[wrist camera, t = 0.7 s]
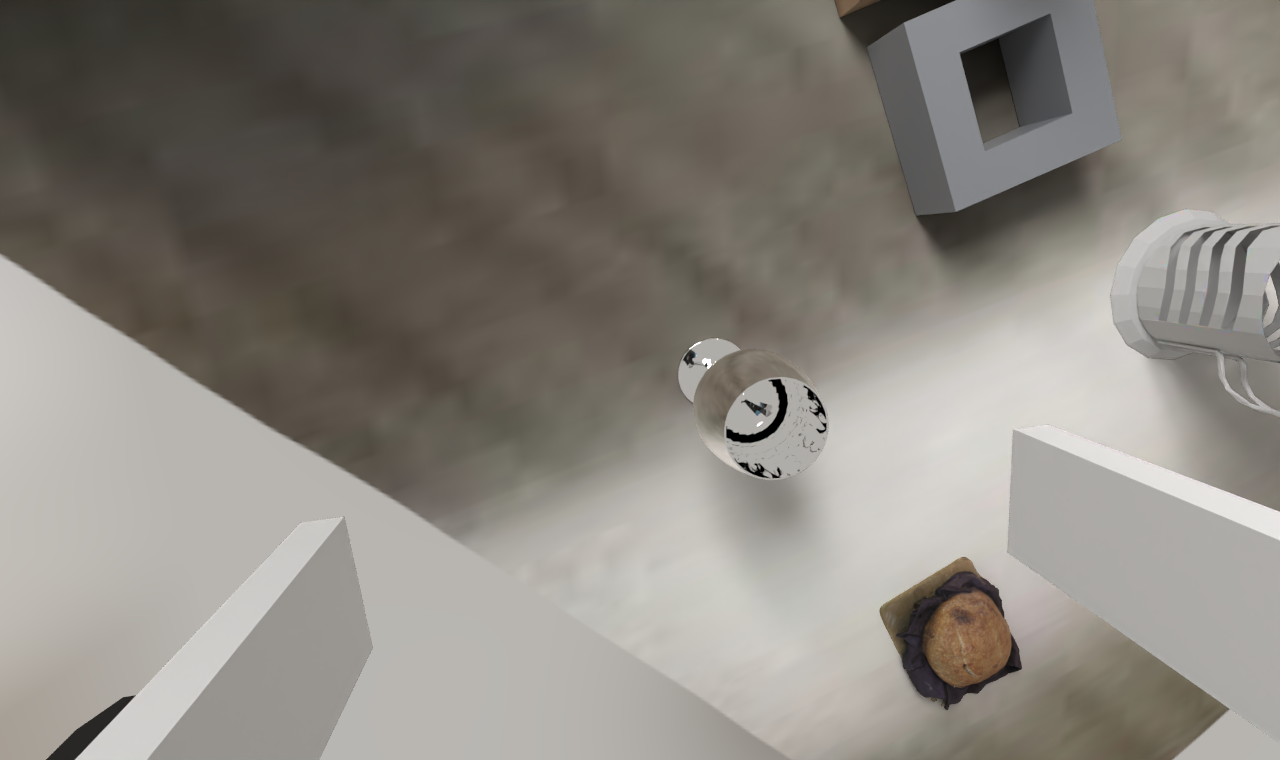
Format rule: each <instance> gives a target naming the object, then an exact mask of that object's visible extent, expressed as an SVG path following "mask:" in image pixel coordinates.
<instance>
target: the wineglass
mask: <svg viewBox="0 0 1280 760" xmlns="http://www.w3.org/2000/svg"><path fill="white" fill-rule="evenodd" d="M678 381H679V385H680V388H681V390H682V392H683V394H684V395H685V396H686V398H687V399H688V400H690V401H691V402H692V403H693V412H694V419H695V423H696V427H697V430H698V432H699V434H700V436H701V438H702V440H703V441H704V443H705V444H706V446H707V447H708V448H709V449H710V451H711V452H712V453H713V454H714V455H716V456H717V457H718V458H719V459H720V460H721V461H723V462H724V463H725V464H727V465H729V466H730V467H732V468H734V469H735V470H737V471H740V472H742V473H744V474H746V475H749V476H752V477H755V478H759V479H765V480H779V479H785V478H788V477H791V476H794V475H796V474H798V473H800V472H801V471H803V470H805V469H806V468H807V467H808V466H809V465H810V464H811V463H813V462H814V461H815V459H816V458H817V456H818V455H819V454H820V452H821V451H822V449H823V447H824V445H825V442H826V439H827V434H828V425H829V423H828V414H827V411H826V407H825V405H824V402H823V400H822V398H821V397H820V395H819V393H818V391H817V389H816V387H815V386H814V384H813V383H812V381H811V380H810V379H809V377H808V376H807V375H806V374H805V373H804V372H803V371H802V370H801V369H800V368H799V367H798V366H797V365H796V364H794V363H793V362H791V361H790V360H788V359H787V358H785V357H783V356H781V355H779V354H776V353H774V352H770V351H766V350H759V349H747V350H741V349H740V348H739V347H738V346H736V345H735V344H734V343H732V342H730V341H729V340H725V339H722V338H708V339H704V340H701V341H699V342H697V343H695V344H694V345H692V346H691V347H690V348H689V349H688V350H687V351H686V352H685V354H684V355H683V357H682V359H681V361H680V364H679V367H678Z"/></svg>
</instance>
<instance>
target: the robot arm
mask: <svg viewBox="0 0 1280 760" xmlns="http://www.w3.org/2000/svg"><path fill="white" fill-rule="evenodd" d="M1007 553H1009V554H1010V555H1012V556H1013V557H1015V558H1016V559H1017V560H1019V561H1020V562H1022V563H1023V564H1025V565H1026V566H1027V567H1029V568H1030V569H1032V570H1033V571H1035V572H1036V573H1037V574H1039V575H1040V576H1042V577H1043V578H1044V579H1046V580H1047V581H1049V582H1050V583H1052V584H1053V585H1054V586H1056V587H1057V588H1059V589H1060V590H1062V591H1063V592H1064V593H1066V594H1067V595H1069V596H1070V597H1072V598H1073V599H1074V600H1076V601H1077V602H1079V603H1080V604H1081V605H1083V606H1084V607H1086V608H1087V609H1089V610H1090V611H1091V612H1093V613H1094V614H1096V615H1097V616H1099V617H1100V618H1101V619H1103V620H1104V621H1106V622H1107V623H1109V624H1110V625H1111V626H1113V627H1114V628H1116V629H1117V630H1118V631H1120V632H1121V633H1123V634H1124V635H1126V636H1127V637H1128V638H1130V639H1131V640H1133V641H1134V642H1136V643H1137V644H1138V645H1140V646H1141V647H1143V648H1144V649H1146V650H1147V651H1148V652H1150V653H1151V654H1153V655H1154V656H1155V657H1157V658H1158V659H1160V660H1161V661H1163V662H1164V663H1165V664H1167V665H1168V666H1170V667H1171V668H1173V669H1174V670H1175V671H1177V672H1178V673H1180V674H1181V675H1183V676H1184V677H1185V678H1187V679H1188V680H1190V681H1191V682H1192V683H1194V684H1195V685H1197V686H1198V687H1200V688H1201V689H1202V690H1204V691H1205V692H1207V693H1208V694H1210V695H1211V696H1212V697H1214V698H1215V699H1217V700H1218V701H1220V702H1221V703H1222V704H1224V705H1225V706H1227V707H1228V708H1229V709H1231V710H1232V711H1234V712H1235V713H1237V714H1238V715H1240V716H1241V717H1242V718H1244V719H1245V720H1247V721H1248V722H1249V723H1251V724H1252V725H1254V726H1255V727H1257V728H1258V729H1259V730H1261V731H1262V732H1264V733H1265V734H1266V735H1268V736H1269V737H1271V738H1272V739H1274V740H1275V741H1276V742H1278V743H1279V744H1280V512H1279V511H1276V510H1274V509H1271V508H1268V507H1266V506H1263V505H1260V504H1258V503H1255V502H1252V501H1250V500H1247V499H1244V498H1242V497H1239V496H1236V495H1234V494H1231V493H1229V492H1226V491H1223V490H1221V489H1218V488H1215V487H1213V486H1210V485H1207V484H1205V483H1202V482H1199V481H1197V480H1194V479H1191V478H1189V477H1186V476H1183V475H1181V474H1178V473H1176V472H1173V471H1170V470H1168V469H1165V468H1162V467H1160V466H1157V465H1154V464H1152V463H1149V462H1146V461H1144V460H1141V459H1138V458H1136V457H1133V456H1130V455H1128V454H1125V453H1122V452H1120V451H1117V450H1115V449H1112V448H1109V447H1107V446H1104V445H1101V444H1099V443H1096V442H1093V441H1091V440H1088V439H1085V438H1083V437H1080V436H1077V435H1075V434H1072V433H1069V432H1067V431H1064V430H1062V429H1059V428H1056V427H1054V426H1051V425H1040V426H1032V427H1025V428H1017V429H1013V440H1012V462H1011V484H1010V505H1009V527H1008V549H1007ZM372 648H373V646H372V642H371V638H370V633H369V628H368V624H367V619H366V614H365V610H364V605H363V600H362V596H361V591H360V587H359V582H358V577H357V573H356V568H355V564H354V559H353V555H352V549H351V545H350V540H349V536H348V531H347V526H346V522H345V517H337V518H329V519H322V520H315V521H307V522H301V523H300V524H299V525H298V526H297V527H296V528H295V529H294V530H293V531H292V532H291V533H290V534H289V535H288V536H287V537H286V538H285V540H284V541H283V542H282V543H281V544H280V545H279V546H278V547H277V548H276V549H275V550H274V551H273V552H272V553H271V554H270V555H269V556H268V557H267V558H266V560H265V561H264V562H263V563H262V564H261V565H260V566H259V567H258V568H257V569H256V570H255V571H254V572H253V573H252V574H251V575H250V576H249V577H248V578H247V579H246V581H245V582H244V583H243V584H242V585H241V586H240V587H239V588H238V589H237V590H236V591H235V592H234V593H233V594H232V595H231V596H230V597H229V598H228V599H227V601H226V602H225V603H224V604H223V605H222V606H221V607H220V608H219V609H218V610H217V611H216V612H215V613H214V614H213V615H212V616H211V617H210V618H209V620H208V621H207V622H206V623H205V624H204V625H203V626H202V627H201V628H200V629H199V630H198V631H197V632H196V633H195V634H194V635H193V636H192V637H191V638H190V639H189V640H188V641H187V643H186V644H185V645H184V646H183V647H182V648H181V649H180V650H179V651H178V652H177V653H176V654H175V655H174V656H173V657H172V658H171V659H170V660H169V661H168V663H167V664H166V665H165V666H164V667H163V668H162V669H161V670H160V671H159V672H158V673H157V674H156V675H155V676H154V677H153V678H152V679H151V680H150V681H149V682H148V684H147V685H146V686H145V687H144V688H143V689H142V690H141V691H140V692H139V693H138V694H137V695H135V696H130V697H123V698H122V699H120V700H119V701H117V702H116V703H114V704H113V705H112V706H110V707H109V708H107V709H106V710H104V711H103V712H101V713H100V714H98V715H97V716H96V717H94V718H93V719H91V720H90V721H88V722H87V723H85V724H84V725H83V726H81V727H80V728H78V729H77V730H76V731H75V732H74V733H73V734H72V735H71V736H70V737H69V738H68V739H67V740H66V741H64V743H63V744H61V746H59V748H57V749H56V751H54V753H53V754H51V755H50V756H49V758H47V759H46V760H319V758H320V757H321V755H322V753H323V751H324V748H325V746H326V744H327V742H328V740H329V738H330V736H331V734H332V732H333V730H334V728H335V726H336V723H337V721H338V719H339V717H340V715H341V713H342V711H343V709H344V707H345V705H346V703H347V701H348V698H349V696H350V694H351V692H352V690H353V688H354V686H355V684H356V682H357V680H358V677H359V676H360V673H361V671H362V669H363V667H364V665H365V663H366V661H367V659H368V657H369V654H370V653H371V650H372Z"/></svg>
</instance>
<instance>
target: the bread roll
mask: <svg viewBox="0 0 1280 760" xmlns="http://www.w3.org/2000/svg"><path fill="white" fill-rule="evenodd" d="M880 615H881V617H882V620H883V622H884V625H885V627H886V629H887V630H888V632H889V634H890V636H891V639H892V641H893V642H894V645H895V647H896V649H897V650H898V653H899V654H900V656H901V658H902V662H903V667H904V669H906V671H907V673H908V675H909V678H910V679H911V681H912V683H913V684H914V686H915V687H916V689H917V691H918V692H919V693H920V694H921V695H923V696H924V697H930V698H931V700H932V701H934V702H935V701H937V699H936V698H940V699H943V703H942V704H941V706H943V705H945V706H944V708H945V709H946V710H948V708H949V705H950V704H956V703H958V702H960V701H961V699H962V697H963V696H964V695H965V694H967V693H976V694H977V693H979V692H980V691H981V690H982V688H983V687H984V686H985V685H986V684H988V683H990V682H993V681H996V680H998V679H999V678H1001V677H1003V676H1005V675H1007V674H1008V673H1012V672H1015V671H1018V670H1021V669H1022V665H1021V661H1020V655H1019V648H1018V646H1017V643H1016V642H1015V640H1014V638H1013V636H1012V635H1011V632H1010V630H1009V626H1008V624H1007V622H1006V620H1005V619H1004V611H1003V609H1002V600H1001V598H1000V597H999V590H998V589H997V588H995V586H994V585H991V584H990V583H989V582H988V581H987V580H986V579H984V578H982V577H981V576H980V575H979V574H978V573H977V571H976V569H975V568H974V566H973V563H972V562H971V561H970V560H969V559H968V558H966V557H962V558H959V559H957V560H956V561H954V562H953V563H952V564H950V565H948V566H947V567H945V568H943V569H942V570H940V571H938V572H937V573H935V574H933V575H932V576H930V577H928V578H926V579H925V580H923V581H922V582H920V583H919V584H917V585H915V586H913V587H912V588H910V589H909V590H907V591H905V592H904V593H902V594H900V595H899V596H897V597H895V598H894V599H892V600H891V601H889V602H887V603H886V604H884V605H883V606H882V607H881V608H880Z"/></svg>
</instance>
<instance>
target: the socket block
mask: <svg viewBox="0 0 1280 760" xmlns="http://www.w3.org/2000/svg"><path fill="white" fill-rule="evenodd" d="M878 1H880V0H835V3H836V6H837V10H838V13H839V16H840V18H841V17H843V16H845V15H848V14H850V13H852V12H855V11H857V10H859V9H862V8H864V7H866V6H869V5H871V4H873V3H876V2H878Z"/></svg>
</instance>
